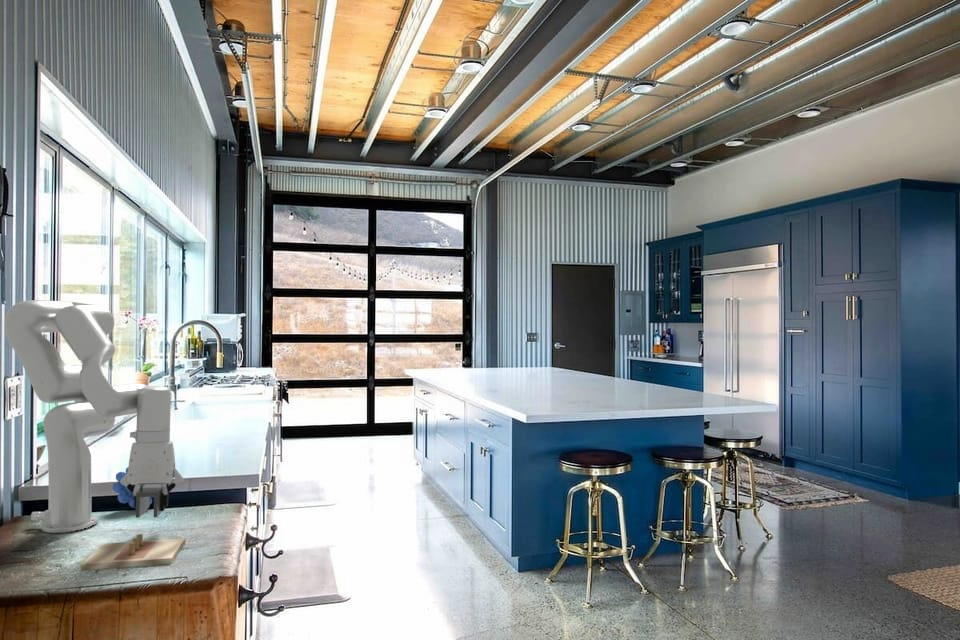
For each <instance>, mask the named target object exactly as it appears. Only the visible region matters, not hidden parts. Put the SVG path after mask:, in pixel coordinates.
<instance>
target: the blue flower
mask: <svg viewBox="0 0 960 640" xmlns="http://www.w3.org/2000/svg"><path fill="white" fill-rule="evenodd" d="M128 467H129V466H127V467H126V468H125V472H124V471H119V472H117V473H116V474H115V479H116V481H117V482H115V483H113V485H112V490H113V491H114V492H115V493H116V494H118V495H117V500H118V501H119V503H121V504H126V503H128V505H129V506H130V507H131V508H132V509H136V508H135V507H134V499H135V496H134V495H133V493H132V492H131V491H130V490H129V489H128V488H127V487H125V486H124V485H122V484H121V483H120V480H121V479H122V478H123V477H124V475H125V474H126V473H127V472H128ZM134 485H135V484H134ZM144 485H145V484H143V486H144ZM143 486H142V487H143ZM152 498H153V497H149V506H150V505H151V504H152V502H153V499H152Z"/></svg>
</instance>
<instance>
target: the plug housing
mask: <svg viewBox="0 0 960 640" xmlns="http://www.w3.org/2000/svg"><path fill="white" fill-rule="evenodd" d="M161 495H162V489H161V485H160V484H145V485H144V486H143V487H142V488H141V489H140V490H139V491H138V492H137V493H136V508H135V519H138V518H141V517H142V515H143V514H145V512H146V511H147V510H149V508H150V505H149V497H151V498H153V518H158V517H159V515H160V514H161V513H162V512H163V511H160V501H161Z"/></svg>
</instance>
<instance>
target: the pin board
mask: <svg viewBox="0 0 960 640" xmlns="http://www.w3.org/2000/svg"><path fill="white" fill-rule="evenodd" d="M185 544H186V537H184V538H181V537H180V538H167V539H152V540H151V539H150V540H143V534H142V533H139V534H136V538H133V539H132V541H121V542H108V543H107V542H106V543H101V544H100V545H99V546H98V547H97V548H96V549H95V550H94V551H93V552H92V553H90V555H88V556H87V558H86V559H85V560H84V561H83V562H82V563H80V571H84V570H85V571H87V570H102V569H113V568H114V569H116V568H127V567H128V568H129V567H130V568H131V567H142V566H143V565H145V566H156V565H155V564H159V565H171V564H173V562H174V561H173V560H176V558H177V556H178V555H179V553H180V552H181V550H182V549H181V548H183V547H184V546H185ZM183 545H184V546H183ZM179 551H180V552H179ZM177 554H178V555H177ZM175 557H176V558H175Z"/></svg>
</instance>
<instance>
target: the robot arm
mask: <svg viewBox="0 0 960 640" xmlns="http://www.w3.org/2000/svg"><path fill="white" fill-rule="evenodd" d="M114 327H115V318H114V316H113V314H112V312H111V311H110V310H109V309H108V308H107V307H105V306H103V305H100V304H99V305H98V304H90V303H83V302H76V301H67V300H47V299H46V300H42V299H41V300H39V299H33V300H31V299H29V300H23V301H20V302H19V301H18V302H16V303H14V304H13V305H12V306H11V307H9V308H8V310H7V312H6V315H5V317H4V332H5V336H6V338H7V340H8V343H9V345H10V346H11V348H12V349H13V351H14V352H15V353H16V355H17V357H18V358H19V360H20V363H21V364H22V367H23V369H24V372H25V374H26V375H27V377H28V380H29V382H30V384H31V386H32V389H33V391H34V393H35V394H36V396H37V399H39V400H40V401H41V402H43V403H46V404H57V403H64V404H60V405H59V404H58V405H57V406H55V407H53V408H51V409H49V411H47V413H46V414H45V415H44V418H43V424H42V425H43V432H44V435H45V440H46V446H47V468H48V469H47V470H48V509H45V510H44V511H32V512H31V514H30V520H32V522H39V521H42V522H43V523H42V524H41V525H40V526H41V531H42V532H44V533H48V534H49V533H50V534H57V533H59V534H60V533H62V534H63V533H70V532H71V531H72V532H76V530H78V531H81V529H82V530H85V529H84V528H86V529H88V528H87V527H89V528H91V527H90V526H92V525H94V524H96V523H97V522H98V523H99V517H98V516H96V515H92V455H91V451H90V448H89V446H88V445H87V443H86V441H85V438H89V437H96V436H99V435H104V434H106V433H108V432H110V430H112V428H113V427H114V425H115V422H116V417H121V416H126V415H127V416H129V415H134V414H136V430H135V431H131V432H130V433H129V437H130V438H133V439H134V440H135V442H132V444H131V448H130V452H129V453H130V454H129V458H128V466H127V467H128V472H127V473H126V472H125V473H126V474H125V475H124V477H123V478H122V479H121V480H120V483H121V484H122V485H124V486H125V487H127V488H128V489H129V490H130V491H131V492H132V493H133V495H134V496H135V499H134V507H135V508H134V509H136V493H137V492H138V491H139V490H140V489H141V488H142V486H143V484H160V485H161V489H162V495H161V501H160V511H162V512H164V511H165V510H166V507H168V506H169V496H170V495H169V493H170V492H171V491H172V490H173V489H175V488H176V487H178V485H180V484H181V483H182V482H184V481H185V480H184V477H183V476H182V475H181V474H180V472H179V471H178V469H177V468H176V460H175V459H176V458H175V448H174V443H173V440H170V439H171V438H170V437H171V406H172V405H171V402H172V401H171V400H172V393H171V392H172V391H171V390H170V388H169V387H166V386H160V385H159V386H157V385H156V386H155V385H154V386H150V385H147V384H143V383H128V384H119V385H111V383H110V382H109V381H108V378H106V376H105V374H104V373H103V370H102V365H105V364H106V363H107V362H108V361H110V360H111V359H112V358H113V357H114V355H115V353H116V347H115V345H114V343H113V342H112V341H111V340H110V338H109V336H108V335H109V334H110V333H111V332H112V331H113V330H114ZM43 333H60V335H61V336H62V338H63V339H64V341H65V342H66V343H67V345H68V346H69V348H70V349H71V350H72V352H73V354H74V355H75V356H76V358H77V360H78V361H79V362H80V364H73V365H68V364H66V363H65V362H64V361H63V359H62V357H61V355H60V352H59V350H58V349H57V348H56V346H55V345H54V344H53V343H52V341H50V340H49V339H47V338H46V337H45V336H43ZM72 401H74V402H72ZM65 402H67V403H65ZM68 402H69V403H68ZM173 479H174V481H173ZM171 481H173V482H171ZM170 482H171V483H170ZM169 483H170V484H169ZM134 484H135V485H134ZM98 523H97V524H98ZM97 524H96V525H97ZM94 526H95V525H94ZM92 527H93V526H92ZM72 532H71V533H72Z"/></svg>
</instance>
